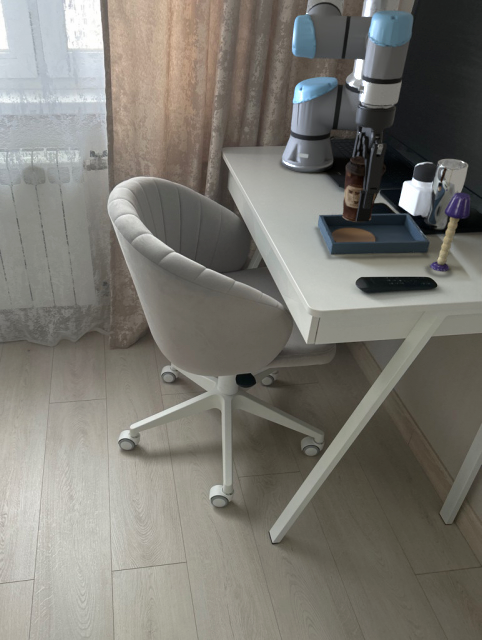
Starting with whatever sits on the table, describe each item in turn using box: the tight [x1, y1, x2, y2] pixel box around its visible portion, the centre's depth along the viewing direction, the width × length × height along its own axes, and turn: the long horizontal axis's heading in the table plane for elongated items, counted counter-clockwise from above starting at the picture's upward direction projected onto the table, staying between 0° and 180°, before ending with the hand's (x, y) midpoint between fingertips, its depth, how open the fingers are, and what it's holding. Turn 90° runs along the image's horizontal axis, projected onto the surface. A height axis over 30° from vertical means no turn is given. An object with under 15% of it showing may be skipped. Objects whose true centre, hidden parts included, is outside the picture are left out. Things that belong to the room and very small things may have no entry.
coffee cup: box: [342, 156, 387, 222], centre depth 123 cm, size 9×8×13 cm
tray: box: [317, 212, 431, 255], centre depth 130 cm, size 15×22×4 cm
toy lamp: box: [429, 192, 471, 273], centre depth 116 cm, size 5×5×17 cm
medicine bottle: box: [398, 161, 438, 218], centre depth 140 cm, size 7×7×12 cm
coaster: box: [332, 228, 375, 242], centre depth 131 cm, size 10×10×1 cm
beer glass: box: [423, 158, 469, 232], centre depth 133 cm, size 7×7×15 cm
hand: (357, 212), depth 127 cm, fingers closed on coffee cup, 7 cm apart
